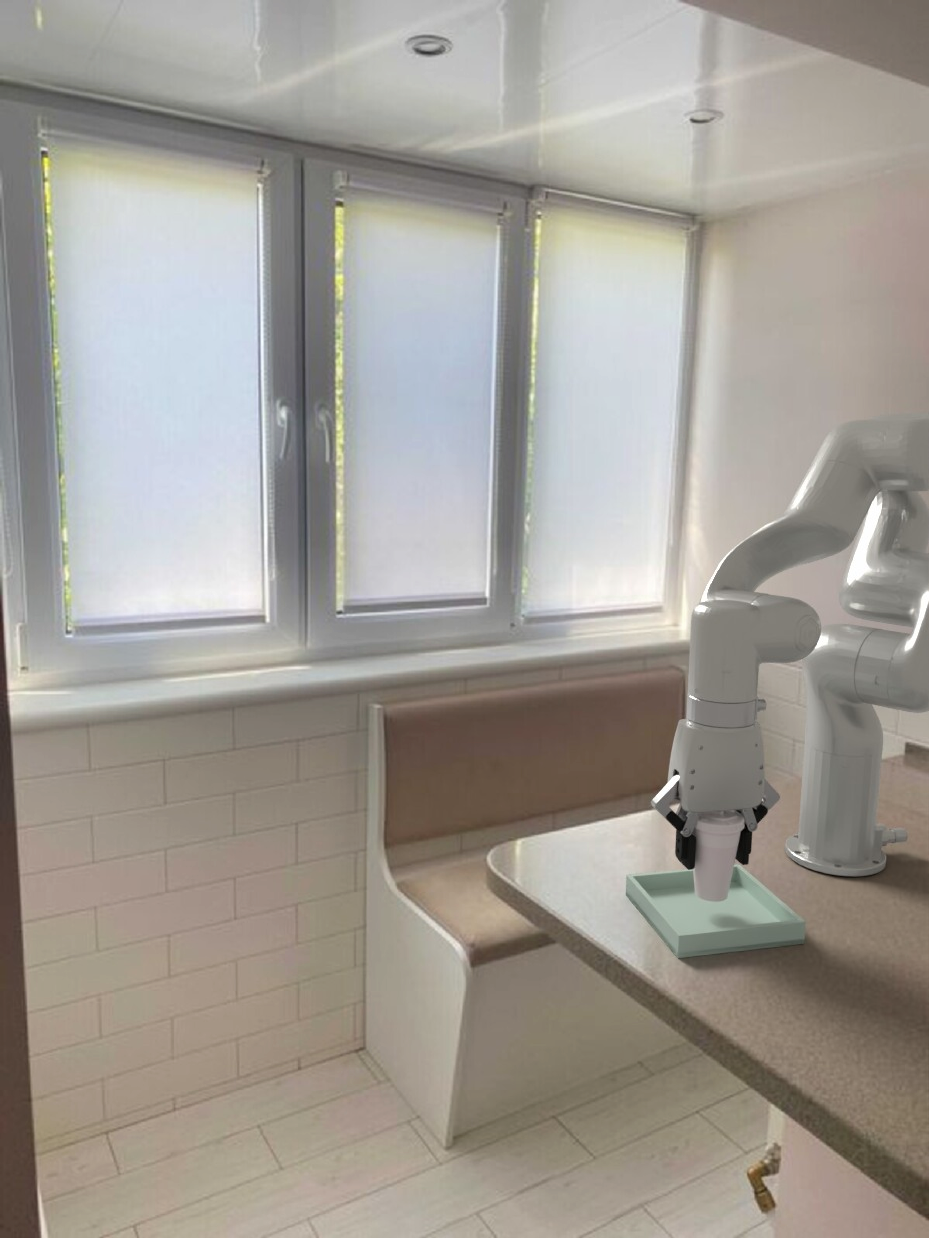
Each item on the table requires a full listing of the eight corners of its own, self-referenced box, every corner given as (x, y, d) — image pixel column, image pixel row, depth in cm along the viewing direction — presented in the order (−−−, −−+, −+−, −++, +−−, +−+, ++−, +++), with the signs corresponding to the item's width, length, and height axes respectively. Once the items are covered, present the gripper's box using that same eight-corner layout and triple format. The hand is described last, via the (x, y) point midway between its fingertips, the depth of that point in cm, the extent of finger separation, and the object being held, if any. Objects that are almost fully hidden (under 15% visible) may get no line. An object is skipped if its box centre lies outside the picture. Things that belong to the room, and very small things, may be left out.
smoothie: (742, 909, 104) (750, 790, 102) (683, 903, 106) (690, 785, 103) (737, 884, 111) (745, 772, 108) (682, 879, 112) (688, 767, 110)
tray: (737, 883, 118) (739, 863, 117) (804, 943, 103) (805, 921, 103) (625, 894, 114) (626, 874, 114) (677, 958, 100) (678, 935, 100)
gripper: (773, 699, 110) (764, 843, 113) (635, 706, 106) (629, 854, 109) (809, 716, 103) (798, 870, 106) (662, 724, 99) (655, 883, 102)
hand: (712, 860), depth 107 cm, fingers closed on smoothie, 6 cm apart
